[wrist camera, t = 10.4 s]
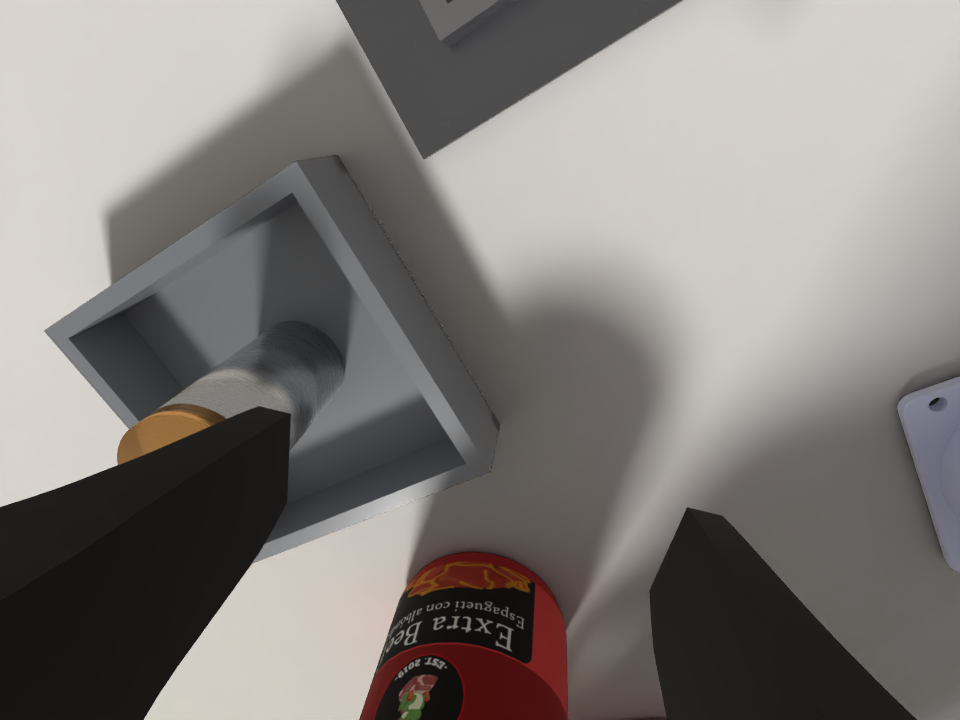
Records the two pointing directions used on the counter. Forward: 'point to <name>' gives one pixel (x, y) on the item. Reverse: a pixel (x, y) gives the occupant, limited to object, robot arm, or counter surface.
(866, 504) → the counter surface
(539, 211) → the counter surface
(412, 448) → the bin
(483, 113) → the socket base
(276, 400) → the grey and gold cylinder
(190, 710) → the counter surface
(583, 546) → the counter surface
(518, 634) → the canned food
